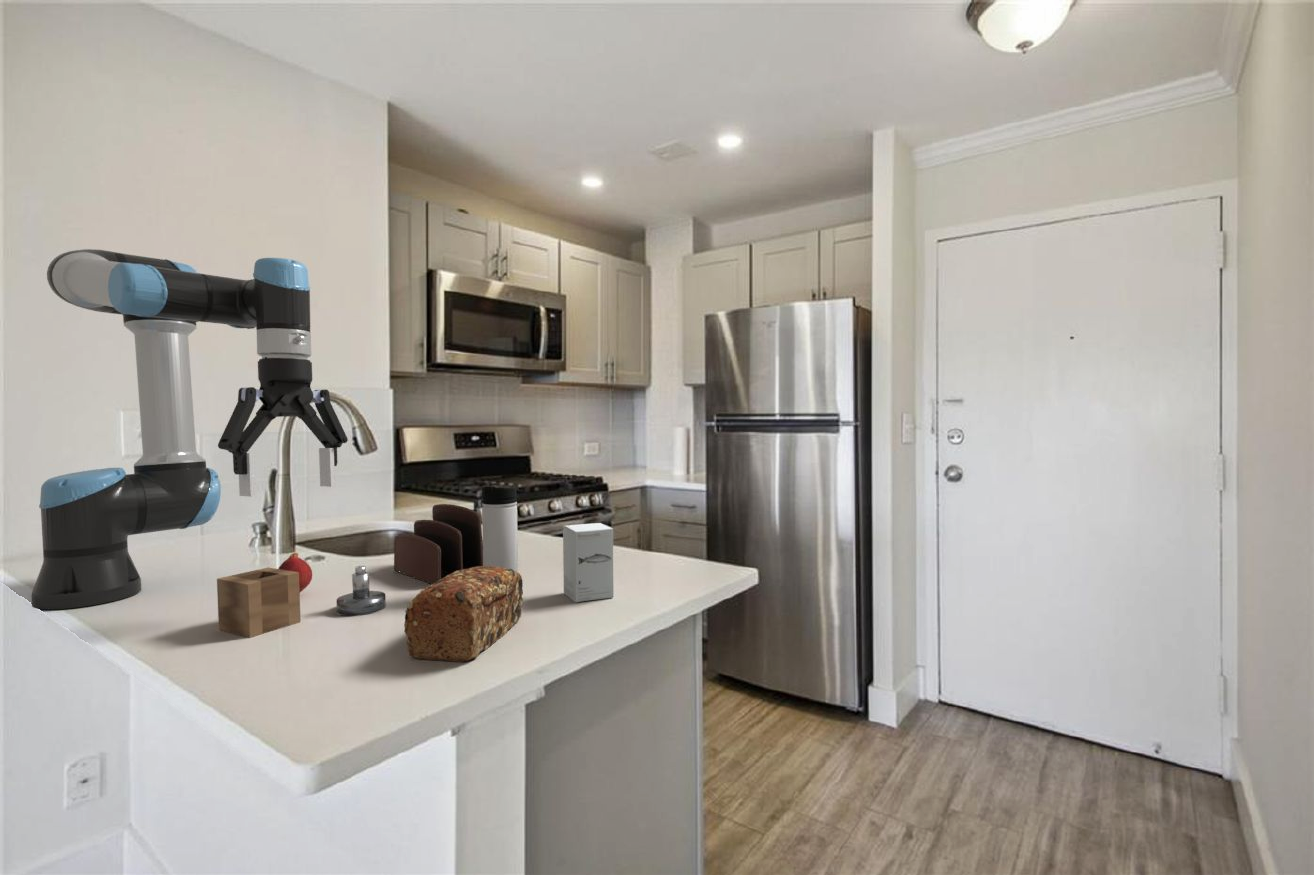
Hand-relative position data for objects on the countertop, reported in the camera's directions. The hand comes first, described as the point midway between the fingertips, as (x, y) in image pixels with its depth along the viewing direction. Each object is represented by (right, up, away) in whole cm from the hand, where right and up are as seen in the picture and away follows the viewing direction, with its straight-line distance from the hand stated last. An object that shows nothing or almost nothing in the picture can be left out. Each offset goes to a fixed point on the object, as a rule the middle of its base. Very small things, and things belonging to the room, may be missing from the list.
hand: (290, 491), depth 104 cm
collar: (-3, -21, -2) cm, 21 cm away
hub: (+9, -21, +6) cm, 23 cm away
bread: (+31, -21, -9) cm, 39 cm away
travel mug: (+30, -20, +15) cm, 39 cm away
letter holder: (+14, -20, +30) cm, 38 cm away
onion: (-7, -21, +14) cm, 26 cm away
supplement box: (+47, -20, +13) cm, 52 cm away
